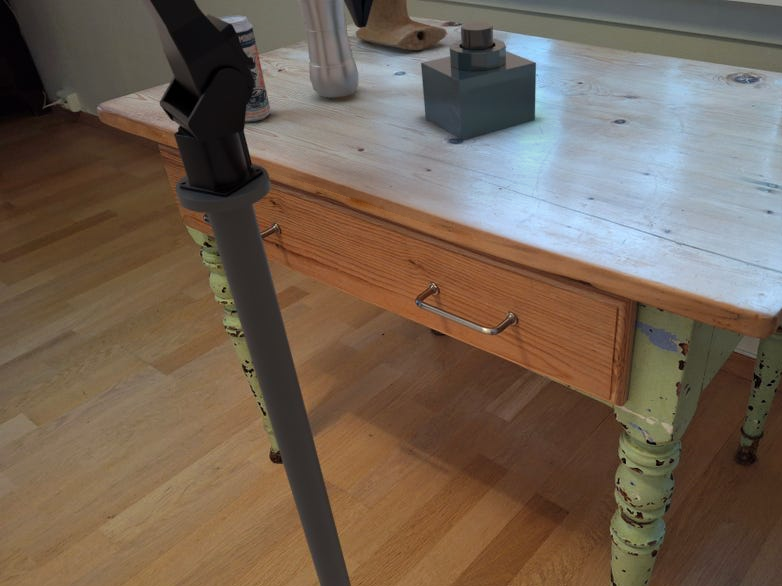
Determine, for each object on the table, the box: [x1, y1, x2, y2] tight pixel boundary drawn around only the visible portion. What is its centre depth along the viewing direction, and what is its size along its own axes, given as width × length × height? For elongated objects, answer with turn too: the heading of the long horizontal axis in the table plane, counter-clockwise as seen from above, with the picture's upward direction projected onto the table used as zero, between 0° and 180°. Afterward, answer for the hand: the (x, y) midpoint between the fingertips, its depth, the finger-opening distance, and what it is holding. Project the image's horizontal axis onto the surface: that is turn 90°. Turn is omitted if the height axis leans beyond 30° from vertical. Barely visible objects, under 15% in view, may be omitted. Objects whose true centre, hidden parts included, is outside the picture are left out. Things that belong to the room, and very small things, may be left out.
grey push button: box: [460, 21, 494, 51], centre depth 84 cm, size 4×4×2 cm
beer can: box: [218, 14, 272, 123], centre depth 89 cm, size 5×5×12 cm
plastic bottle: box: [297, 0, 359, 98], centre depth 93 cm, size 6×7×20 cm
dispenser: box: [420, 38, 537, 141], centre depth 87 cm, size 11×9×9 cm
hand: (360, 26), depth 77 cm, fingers closed
